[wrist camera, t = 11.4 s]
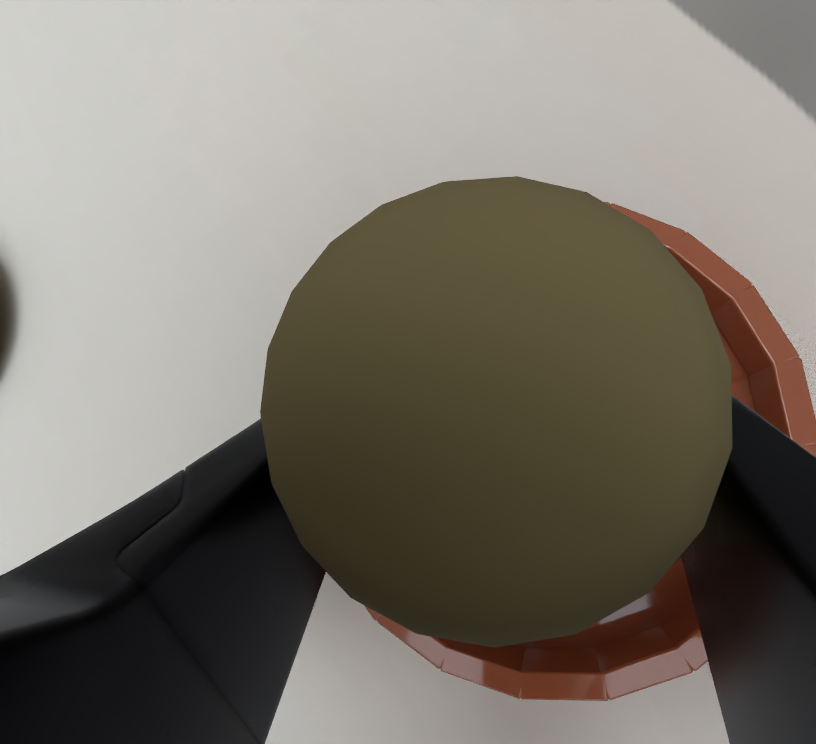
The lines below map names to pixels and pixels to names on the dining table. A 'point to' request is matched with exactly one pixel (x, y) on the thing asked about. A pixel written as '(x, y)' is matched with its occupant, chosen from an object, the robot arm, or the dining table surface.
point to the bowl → (670, 598)
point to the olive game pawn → (497, 410)
